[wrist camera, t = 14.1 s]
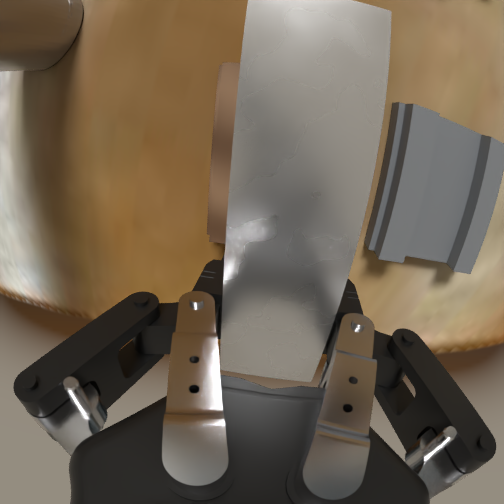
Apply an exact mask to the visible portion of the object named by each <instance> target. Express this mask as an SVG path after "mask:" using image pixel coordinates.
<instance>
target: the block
mask: <svg viewBox="0 0 504 504" xmlns="http://www.w3.org/2000/svg"><path fill="white" fill-rule="evenodd" d="M390 39H391V11H389V10H386V9H382V8H379V7H376V6H372V5H368V4H365V3H361V2H357V1H352V0H248V5H247V12H246V20H245V28H244V37H243V45H242V54H241V63H240V72H239V82H238V92H237V102H236V112H235V123H234V134H233V146H232V158H231V170H230V183H229V197H228V211H227V226H226V242H225V259H224V278H223V298H222V321H221V347H220V349H221V350H220V370H225V371H230V372H236V373H242V374H248V375H255V376H261V377H269V378H276V379H284V380H293V381H303V382H311V381H312V378H313V376H314V373H315V371H316V368H317V366H318V363H319V361H320V358H321V356H322V353H323V350H324V348H325V345H326V342H327V339H328V337H329V334H330V331H331V328H332V325H333V322H334V320H335V317H336V314H337V311H338V308H339V305H340V301H341V298H342V295H343V292H344V289H345V286H346V282H347V279H348V276H349V272H350V269H351V265H352V262H353V258H354V255H355V251H356V247H357V244H358V240H359V236H360V232H361V228H362V224H363V220H364V216H365V212H366V207H367V203H368V199H369V194H370V189H371V185H372V180H373V175H374V170H375V164H376V159H377V153H378V148H379V142H380V135H381V129H382V122H383V115H384V107H385V99H386V90H387V81H388V70H389V56H390Z"/></svg>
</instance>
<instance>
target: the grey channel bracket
mask: <svg viewBox="0 0 504 504" xmlns="http://www.w3.org/2000/svg"><path fill="white" fill-rule="evenodd" d="M439 114H440V113H437V112H435V111H432V110H429V109H427V108H424V107H421V106H418V105H416V104H403V103H400V102H396V103H393V104H392V111H391V118H390V125H389V131H388V137H387V143H386V149H385V154H384V160H383V165H382V170H381V175H380V180H379V184H378V189H377V193H376V198H375V202H374V206H373V210H372V214H371V218H370V222H369V226H368V230H367V234H366V237H365V241H364V242H365V244H366V246H367V248H368V250H374V252H375V254H376V255H377V257H378V259H381V260H387V261H393V262H400V263H403V262H404V259H405V256H409V257H415V258H421V259H427V260H432V261H438V262H444V263H447V264H448V266H449V267H450V268H451V269H452V270H453V271H455V272H461V273H467V274H471V271H472V269H473V266H474V264H475V262H476V259H477V257H478V254H479V251H480V249H481V246H482V243H483V241H484V238H485V235H486V232H487V229H488V226H489V223H490V220H491V217H492V213H493V210H494V207H495V203H496V199H497V196H498V192H499V188H500V184H501V180H502V175H503V170H504V144H503V143H502V142H500V141H498V140H496V139H494V138H492V137H489V136H485V135H481V134H479V133H477V132H475V131H472V130H470V129H468V128H466V127H464V126H461V125H459V124H457V123H455V122H452V121H450V120H447V119H445V118H442V117H440V116H439Z"/></svg>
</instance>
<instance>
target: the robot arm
mask: <svg viewBox="0 0 504 504" xmlns="http://www.w3.org/2000/svg"><path fill="white" fill-rule="evenodd" d="M82 16H83V5H82V2H81V0H0V71H23V70H44V69H47V68H49V67H51V66H52V65H54V64H55V63H56V62H57V61H59V60H60V59H61V58H62V56H63V55H64V54H65V53H66V52H67V50H68V49H69V47H70V46H71V45H72V43H73V41H74V39H75V37H76V35H77V33H78V30H79V28H80V25H81V21H82ZM224 259H225V254H224V256H223V258H222V260H221V261H220V260H212V261H210V262H209V263H207V264H206V266H205V268H204V270H203V271H202V273H201V276H200V277H199V279H198V281H197V283H196V285H195V286H194V288H193V290H192V291H191V292H188V293H185V294H184V295H182V296H181V297H180V299H179V302H176V303H159V300H158V298H157V296H156V295H154V294H152V293H149V292H137V293H134V294H131V295H130V296H128V297H127V298H125V299H124V300H122V301H121V302H119V303H118V304H116V305H115V306H113V307H112V308H111V309H109V310H108V311H106V312H105V313H103V314H102V315H100V316H99V317H97V318H96V319H95V320H93V321H92V322H90V323H89V324H87V325H86V326H85V327H83V328H82V329H80V330H79V331H78V332H76V333H75V334H73V335H72V336H71V337H69V338H68V339H66V340H65V341H63V342H62V343H61V344H59V345H58V346H56V347H55V348H54V349H52V350H51V351H49V352H48V353H47V354H45V355H44V356H43V357H41V358H40V359H39V360H37V361H36V362H34V363H33V364H32V365H30V366H29V367H28V368H26V369H25V370H24V371H22V372H21V373H20V374H19V375H18V376H17V378H16V379H15V382H14V392H15V395H16V396H17V397H18V399H19V400H20V401H21V403H22V404H23V405H24V407H25V408H26V410H27V412H28V413H29V414H30V415H31V417H32V418H33V419H34V420H35V421H36V422H37V424H38V425H39V426H40V427H41V428H42V429H43V430H45V431H46V432H47V433H48V434H49V435H50V436H51V437H52V439H54V440H55V441H57V442H58V443H59V444H60V445H61V446H62V447H63V448H64V449H65V450H66V451H67V452H68V453H69V454H70V456H71V459H70V463H69V474H70V481H71V502H70V504H429V503H430V499H431V498H432V497H434V496H435V495H437V494H438V493H440V492H442V491H444V490H446V489H447V488H449V487H451V486H452V485H454V484H455V483H457V482H459V481H460V480H462V479H463V478H465V477H466V476H468V475H469V474H471V473H472V472H474V471H475V470H477V469H478V468H479V467H481V466H482V465H483V464H485V463H486V462H488V461H489V460H490V459H491V458H492V457H493V456H494V454H495V451H496V442H495V439H494V437H493V435H492V434H491V432H490V430H489V429H488V427H487V426H486V425H485V423H484V422H483V420H482V419H481V417H480V416H479V414H478V413H477V411H476V410H475V409H474V407H473V406H472V404H471V403H470V402H469V400H468V399H467V397H466V396H465V395H464V393H463V392H462V390H461V389H460V388H459V386H458V385H457V384H456V382H455V381H454V380H453V378H452V377H451V376H450V375H449V373H448V372H447V371H446V369H445V368H444V367H443V366H442V364H441V363H440V362H439V361H438V359H437V358H436V357H435V355H434V354H433V353H432V352H431V350H430V349H429V348H428V347H427V345H426V344H425V343H424V342H423V340H422V339H421V338H420V337H419V336H418V335H417V334H416V333H415V332H413V331H411V330H408V329H397V330H395V331H394V333H393V335H392V336H390V335H386V334H383V333H380V332H378V331H376V330H374V324H373V322H372V321H371V320H370V319H369V318H368V317H366V316H364V315H363V311H362V308H361V305H360V301H359V299H358V295H357V291H356V288H355V285H354V284H353V283H352V282H351V281H350V280H349V279H347V282H346V286H345V289H344V292H343V295H342V298H341V301H340V305H339V308H338V311H337V314H336V317H335V320H334V322H333V325H332V328H331V331H330V334H329V337H328V339H327V342H326V345H325V348H324V350H323V353H322V354H327V360H326V362H325V365H324V368H323V371H322V375H321V378H320V381H319V385H318V388H317V387H305V386H298V387H289V388H278V389H270V388H267V387H264V386H261V385H258V384H256V383H253V382H250V381H247V380H245V379H242V378H237V377H231V376H225V375H220V367H219V352H218V339H221V321H222V298H223V278H224ZM131 339H133V340H132V341H131V342H130V343H128V344H127V345H126V346H125V347H123V346H124V345H125V344H126V343H127V342H129V341H130V340H131ZM121 347H123V348H122V349H121ZM120 349H121V350H120ZM119 350H120V351H119ZM164 354H170V364H169V375H168V388H167V396H166V397H164V398H162V399H160V400H158V401H157V402H155V403H153V404H152V405H149V406H148V407H146V408H144V409H142V410H140V411H138V412H137V413H135V414H133V415H131V416H129V417H127V418H125V419H123V420H121V421H120V422H118V423H116V424H114V425H112V426H110V427H108V428H106V429H104V430H102V428H103V425H104V424H105V422H106V420H107V409H108V408H109V407H110V406H111V405H112V404H113V403H114V402H115V401H116V400H117V399H119V398H120V397H121V396H122V395H123V394H124V393H125V392H126V391H127V390H128V389H129V388H130V387H131V386H133V385H134V384H135V383H136V382H137V381H138V380H139V379H140V378H141V377H142V376H143V375H144V374H145V373H147V371H148V370H150V369H151V368H152V367H153V366H154V365H155V364H156V363H157V362H158V361H159V360H160V359H161V358H162V357H163V356H164ZM405 374H406V376H407V377H408V379H409V380H410V382H411V383H412V384H413V386H414V388H415V391H416V395H415V398H414V396H413V395H412V393H411V392H410V390H409V389H408V387H407V386H406V384H405V383H404V381H403V380H402V379H403V377H404V376H405ZM374 395H375V397H376V398H377V400H378V402H379V404H380V405H381V407H382V409H383V411H384V412H385V414H386V416H387V418H388V419H389V421H390V423H391V425H392V427H393V428H394V430H395V432H396V434H397V435H398V437H399V439H400V441H401V443H402V445H403V446H404V448H405V450H406V454H405V462H404V461H403V460H402V459H401V458H400V457H399V456H398V455H397V454H396V453H395V452H394V451H393V450H392V449H391V448H390V447H389V445H388V444H387V443H386V442H384V440H383V439H382V438H381V437H380V436H379V435H378V434H377V433H376V432H375V431H374V430H373V429H372V428H371V427H370V420H371V413H372V406H373V398H374ZM100 430H102V431H100Z"/></svg>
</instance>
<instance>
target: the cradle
mask: <svg viewBox="0 0 504 504" xmlns="http://www.w3.org/2000/svg"><path fill="white" fill-rule="evenodd" d="M239 72H240V63H225V62H223V65H220V66H219V75H218V84H217V94H216V104H215V115H214V127H213V139H212V153H211V167H210V183H209V202H208V223H207V234H208V235H210V238H209V242H216V243H223V244H225V242H226V226H227V211H228V197H229V183H230V170H231V158H232V146H233V134H234V123H235V112H236V102H237V92H238V82H239Z"/></svg>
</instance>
